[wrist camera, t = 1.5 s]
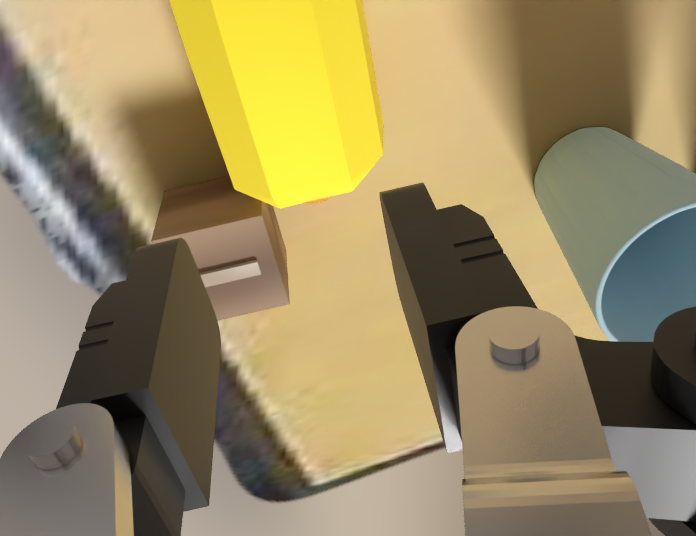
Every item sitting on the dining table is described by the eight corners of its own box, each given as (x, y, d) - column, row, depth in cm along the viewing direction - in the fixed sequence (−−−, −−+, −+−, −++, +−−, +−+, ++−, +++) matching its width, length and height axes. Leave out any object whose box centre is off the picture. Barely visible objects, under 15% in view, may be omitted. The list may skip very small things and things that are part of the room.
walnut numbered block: (164, 190, 33) (150, 243, 29) (261, 167, 33) (261, 218, 29) (196, 270, 36) (188, 329, 31) (286, 249, 36) (289, 306, 31)
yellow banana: (307, -275, 24) (102, -224, 24) (322, -310, 18) (55, -243, 18) (388, 167, 34) (244, 201, 34) (414, 232, 28) (240, 272, 28)
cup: (608, 249, 38) (711, 369, 29) (490, 221, 36) (563, 341, 27) (680, 128, 34) (823, 224, 26) (552, 90, 32) (660, 180, 24)
